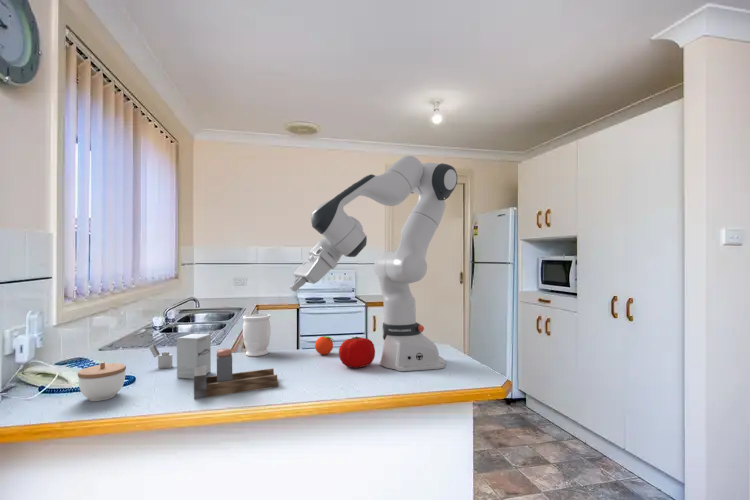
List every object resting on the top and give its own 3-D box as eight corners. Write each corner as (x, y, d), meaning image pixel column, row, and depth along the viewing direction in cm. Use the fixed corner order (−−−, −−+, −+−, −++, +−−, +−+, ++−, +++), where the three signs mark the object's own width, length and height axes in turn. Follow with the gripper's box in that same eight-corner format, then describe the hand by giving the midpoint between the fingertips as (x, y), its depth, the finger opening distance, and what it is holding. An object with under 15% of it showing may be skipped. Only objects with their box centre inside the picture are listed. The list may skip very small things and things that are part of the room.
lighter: (172, 366, 134) (172, 343, 135) (170, 367, 133) (170, 344, 133) (151, 367, 134) (151, 344, 134) (148, 368, 132) (148, 345, 132)
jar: (266, 357, 144) (265, 317, 145) (238, 357, 145) (238, 317, 145) (274, 350, 155) (273, 313, 155) (248, 350, 155) (248, 313, 156)
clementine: (338, 352, 150) (338, 334, 150) (331, 357, 143) (331, 338, 143) (319, 351, 152) (319, 333, 152) (312, 356, 145) (311, 337, 145)
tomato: (380, 368, 129) (379, 337, 129) (343, 372, 124) (343, 340, 124) (368, 359, 139) (368, 331, 139) (334, 364, 134) (334, 334, 134)
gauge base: (272, 377, 121) (272, 357, 121) (278, 386, 111) (277, 365, 111) (195, 387, 112) (195, 366, 112) (194, 398, 103) (193, 376, 103)
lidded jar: (75, 397, 105) (75, 362, 105) (121, 387, 113) (121, 355, 113) (81, 408, 98) (81, 370, 98) (130, 396, 105) (130, 362, 105)
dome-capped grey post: (231, 379, 113) (231, 347, 114) (232, 384, 109) (232, 351, 109) (216, 381, 112) (216, 349, 112) (217, 386, 107) (216, 353, 107)
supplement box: (197, 379, 120) (196, 338, 120) (176, 378, 121) (175, 337, 121) (211, 372, 127) (211, 333, 127) (191, 371, 128) (191, 333, 129)
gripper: (307, 251, 131) (279, 281, 127) (324, 250, 112) (291, 285, 108) (320, 264, 133) (292, 294, 129) (339, 265, 114) (307, 299, 110)
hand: (292, 290), depth 119 cm, fingers closed
